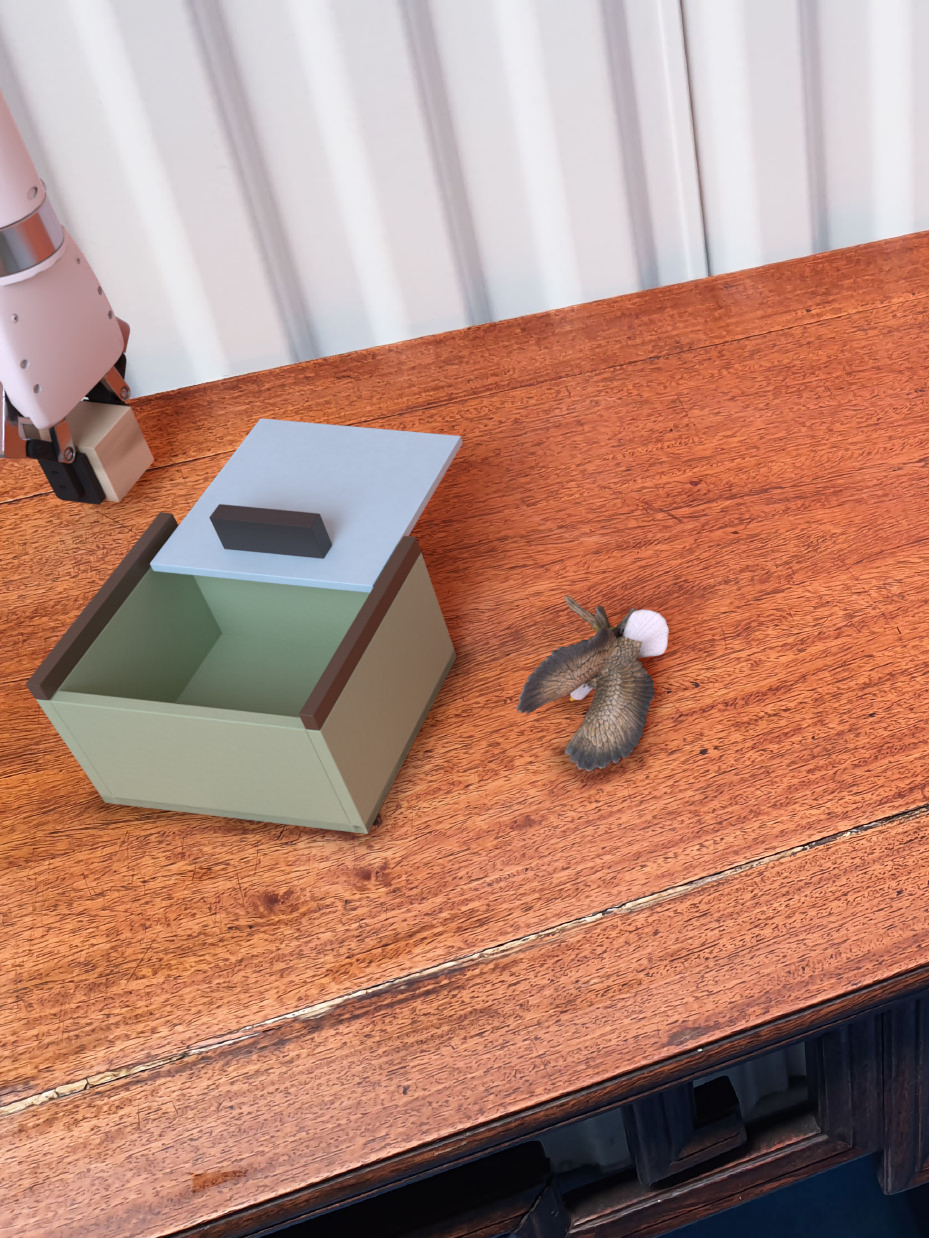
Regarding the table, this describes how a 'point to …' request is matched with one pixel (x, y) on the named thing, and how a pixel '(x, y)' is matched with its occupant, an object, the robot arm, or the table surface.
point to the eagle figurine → (602, 683)
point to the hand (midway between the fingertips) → (103, 472)
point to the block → (109, 445)
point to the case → (247, 689)
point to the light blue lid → (310, 505)
